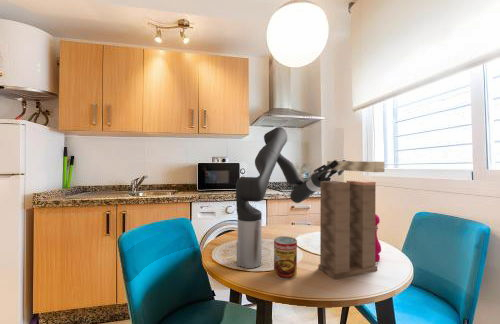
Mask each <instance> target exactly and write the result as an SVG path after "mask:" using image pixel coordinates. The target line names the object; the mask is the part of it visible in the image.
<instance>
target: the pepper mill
mask: <svg viewBox="0 0 500 324" xmlns="http://www.w3.org/2000/svg"><path fill="white" fill-rule="evenodd" d="M379 224H380V217H379V215H378V214H377V213H375V262H380V260H381V255H380V253H381V252H382V246H381V243H380V241H379V239H378V230H379Z"/></svg>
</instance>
